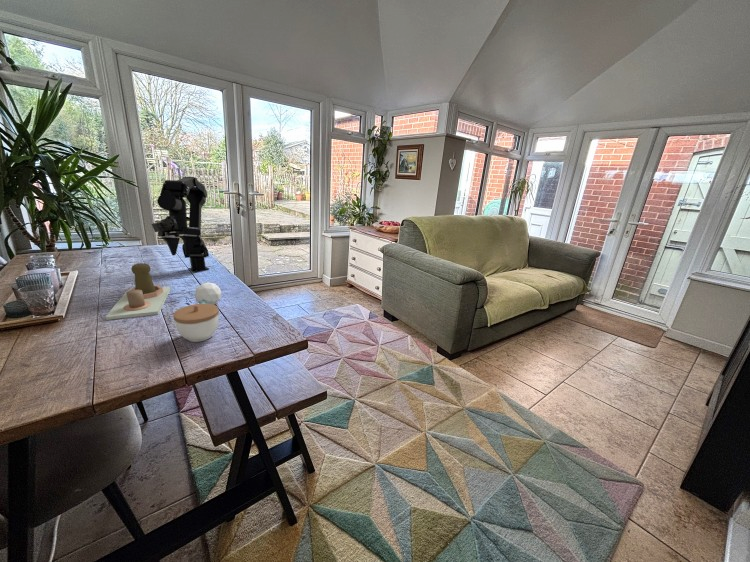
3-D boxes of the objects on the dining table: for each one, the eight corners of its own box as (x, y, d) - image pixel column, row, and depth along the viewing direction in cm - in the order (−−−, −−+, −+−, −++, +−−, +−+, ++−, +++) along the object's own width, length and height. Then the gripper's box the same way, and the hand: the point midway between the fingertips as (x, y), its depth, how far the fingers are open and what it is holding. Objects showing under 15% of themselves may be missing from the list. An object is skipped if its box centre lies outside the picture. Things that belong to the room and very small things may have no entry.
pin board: (128, 292, 109) (124, 276, 107) (170, 289, 114) (168, 274, 112) (106, 319, 89) (101, 301, 87) (158, 314, 95) (155, 296, 93)
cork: (132, 297, 103) (125, 266, 99) (140, 291, 108) (134, 261, 105) (152, 296, 104) (146, 266, 101) (159, 290, 110) (154, 261, 106)
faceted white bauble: (228, 289, 108) (223, 307, 98) (209, 302, 108) (202, 321, 98) (211, 274, 104) (204, 290, 93) (191, 287, 104) (183, 305, 94)
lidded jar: (227, 338, 84) (223, 307, 81) (183, 351, 77) (177, 318, 74) (214, 323, 91) (210, 295, 88) (173, 334, 84) (167, 304, 81)
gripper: (141, 213, 112) (144, 255, 113) (168, 209, 103) (171, 254, 104) (172, 216, 122) (175, 255, 123) (200, 213, 113) (203, 254, 114)
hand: (180, 255), depth 116 cm, fingers open, 9 cm apart
